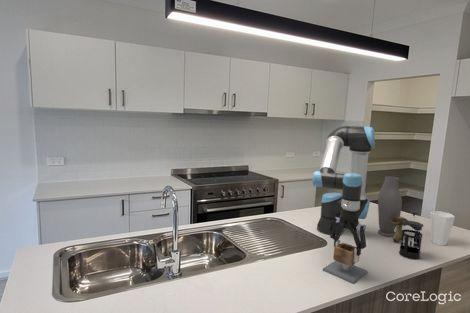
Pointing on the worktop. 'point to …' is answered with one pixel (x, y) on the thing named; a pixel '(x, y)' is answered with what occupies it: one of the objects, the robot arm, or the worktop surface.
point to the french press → (411, 247)
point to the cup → (441, 227)
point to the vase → (389, 206)
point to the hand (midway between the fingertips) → (346, 258)
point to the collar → (344, 254)
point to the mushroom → (398, 227)
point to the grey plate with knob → (345, 271)
